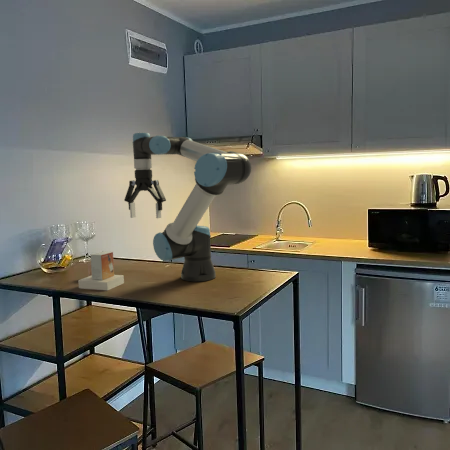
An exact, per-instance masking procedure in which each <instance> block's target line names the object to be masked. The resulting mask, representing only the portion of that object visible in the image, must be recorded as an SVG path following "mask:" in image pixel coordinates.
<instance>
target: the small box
mask: <svg viewBox="0 0 450 450" xmlns="http://www.w3.org/2000/svg"><path fill="white" fill-rule="evenodd" d="M90 263H91V271H92V279H97V280H103V279H106V278H109V277H113V276H114V275H115V265H114V251H104V250H102V251H99V252H95V253H93V254H92V253H91V254H90Z"/></svg>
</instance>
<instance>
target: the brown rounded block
mask: <svg viewBox="0 0 450 450" xmlns="http://www.w3.org/2000/svg"><path fill="white" fill-rule="evenodd" d="M87 272H88V276H91V275H92V271H91V262H89V263H87Z"/></svg>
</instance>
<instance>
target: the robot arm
mask: <svg viewBox="0 0 450 450" xmlns="http://www.w3.org/2000/svg"><path fill="white" fill-rule="evenodd" d="M132 150H133V151H132V152H133V168H134V169H135V170H134V180H129V186H128V188H127V190H126V194H125V196H124V202H127V203H128V210H129V212H130V214H129V215H130V218H131V219H132V218H136V217H137V216H136V203H135V200H136V198H137V196H138V195H139V193H140V192H143V191H144V192H145V191H147V192H148V193H150V195H151V196H152V197H153V199H154V200H155V201H156V203H155V214H156V215H155V216H156V217H155V218H156V219H162V211H163V203H164V202H166V201H167V199H166V197H165V195H164V193H163V190H162V188H161V186H160V182H159V179H154V180H153V170H152V168H153V167H152V166H153V163H152V156H153V155H154V156H155V155H156V156H157V155H158V156H159V155H179V156H181V157H185V158H187V159H190V160H193V161H195V165H194V172H193V173H194V181H195V185H194V186H193V188H192V190H191V192H190V194H189V195H188V196H187V198H186V200H185V202H184V204H183V205H182V206H181V209H180V211H179V212H178V213H177V216H176V218H175V219H174V221H172V222H169V223H168V224H167V225H166V227H165V228H164V230H163V231H162V232H157V233H156V234H155V235H154V236H153V239H152V246H153V250H154V253H155V255H156V256H157V257H158V259H159V260H161V261H165V262H166V261H172V260H176V259H177V260H178V259H183V260H184V261H183V264H182V265H183V266H182V269H181V272H180V276H181V277H180V279H181V280H183V281H186V282H207V281H211V280H214V279H215V278H216V269H215V267H214V264H213V261H212V251H211V250H212V249H211V245H212V244H211V243H212V241H211V235H212V234H211V230H210V227H209V226H204V225H198V224H199V223H200V221H201V220H202V218H203V217H204V215H205V213H206V212H207V210H208V209H209V207H210V205H211V204H212V202H213V201H214V199H215V198H216V197H217V196H221V195H222V194H223V193H224V191H225V190H226V188H227V187H228V185H239V184H242V183H244V182H245V181H247V180H248V179H249V177H250V175H251V173H252V163H251V161H250V160H249V157H248V156H246V155H245V154H243V153H241V152H236V151H233V150H229V151H224V150H221V149H218V148H215V147H213V146H210V145H207V144H203V143H201V142H200V143H199V142H197V141H194V140H193V139H192V138H190V137H187V136H186V137H185V136H165V135H154V136H151V134H150V133H149V132H135V133H133V135H132Z"/></svg>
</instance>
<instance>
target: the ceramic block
mask: <svg viewBox="0 0 450 450" xmlns="http://www.w3.org/2000/svg"><path fill="white" fill-rule="evenodd" d="M124 276H125V275H122V274H114V276H113V277H109V278H106V279H103V280H97V279H92V275H91V276H89V275H88V276H87V277H84V278H83V277H82V278H81V279H78V289H82V290H84V289H85V290H96V291H109V290H112V289H114V288H116V287H118V286H121V285H123V284H125V279H124V278H125V277H124Z"/></svg>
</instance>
